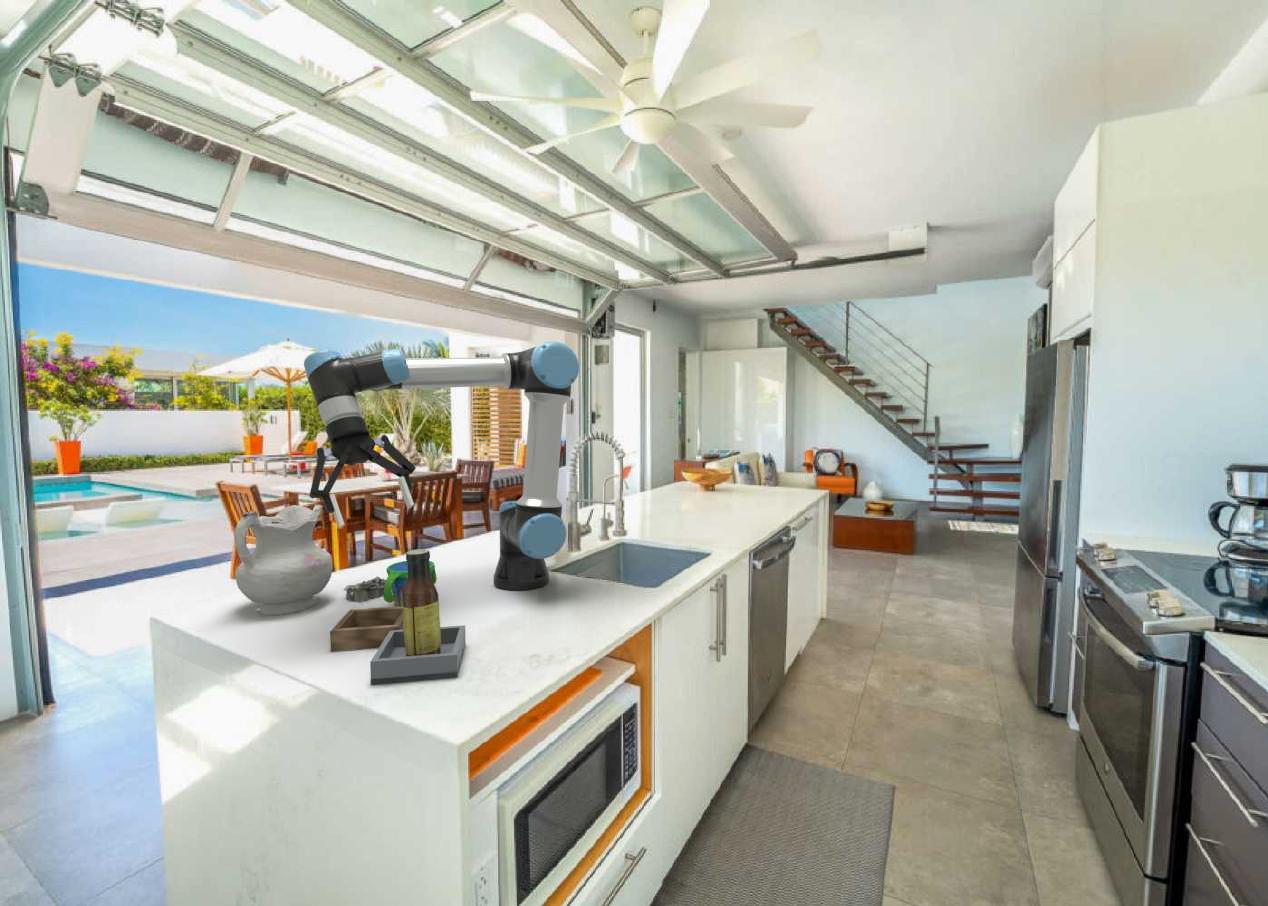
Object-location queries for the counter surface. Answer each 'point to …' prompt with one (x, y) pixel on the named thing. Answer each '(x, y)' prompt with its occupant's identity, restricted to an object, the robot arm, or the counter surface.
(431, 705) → the counter surface
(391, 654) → the tray
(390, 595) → the snack cup
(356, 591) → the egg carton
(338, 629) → the square brown frame
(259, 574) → the ceramic pitcher
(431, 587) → the sauce bottle
